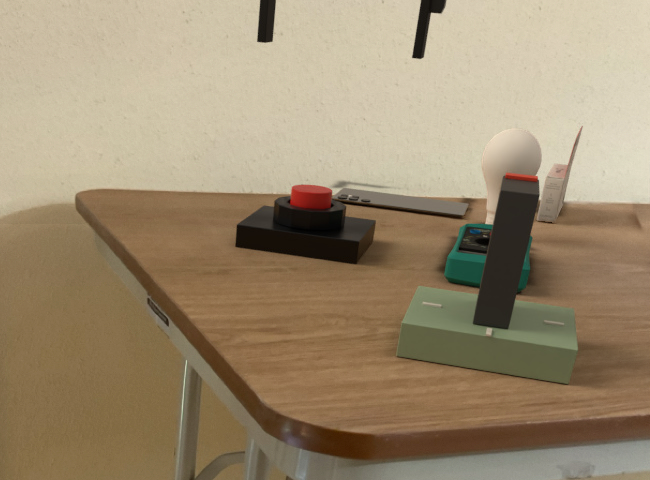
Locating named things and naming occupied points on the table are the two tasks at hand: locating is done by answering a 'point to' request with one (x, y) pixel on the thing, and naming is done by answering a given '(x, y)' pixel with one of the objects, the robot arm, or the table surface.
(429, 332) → the panel
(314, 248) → the button box
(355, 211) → the table surface
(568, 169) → the ink cartridge box
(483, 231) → the digital multimeter
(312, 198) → the button
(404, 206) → the smartphone
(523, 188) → the switch lever
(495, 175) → the lightbulb
